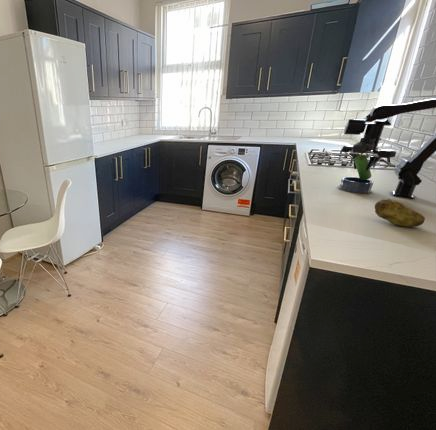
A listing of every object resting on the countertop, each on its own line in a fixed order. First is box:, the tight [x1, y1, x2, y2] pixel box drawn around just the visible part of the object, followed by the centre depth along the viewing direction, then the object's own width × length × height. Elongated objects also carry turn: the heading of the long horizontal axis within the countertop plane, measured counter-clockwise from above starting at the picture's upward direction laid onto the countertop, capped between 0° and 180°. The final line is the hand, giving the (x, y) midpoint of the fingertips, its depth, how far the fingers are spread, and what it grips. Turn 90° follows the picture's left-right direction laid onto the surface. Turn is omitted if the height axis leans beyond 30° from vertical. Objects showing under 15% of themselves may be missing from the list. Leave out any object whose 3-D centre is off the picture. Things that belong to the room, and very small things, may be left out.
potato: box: [374, 198, 426, 228], centre depth 96 cm, size 8×13×8 cm, turn 38°
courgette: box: [354, 154, 373, 180], centre depth 130 cm, size 4×4×14 cm
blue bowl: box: [338, 176, 374, 194], centre depth 133 cm, size 12×12×5 cm
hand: (361, 169), depth 131 cm, fingers closed on courgette, 4 cm apart
